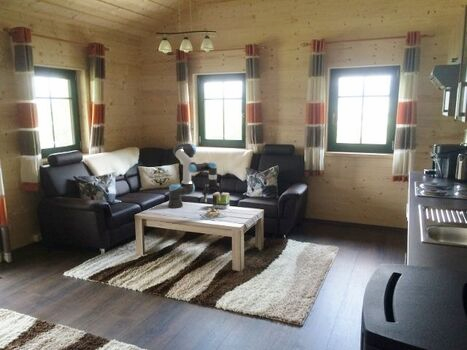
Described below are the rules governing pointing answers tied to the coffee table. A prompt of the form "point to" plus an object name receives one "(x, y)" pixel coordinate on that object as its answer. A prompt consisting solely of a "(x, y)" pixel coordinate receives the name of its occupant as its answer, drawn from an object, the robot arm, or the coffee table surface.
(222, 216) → the post base
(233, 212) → the coffee table surface
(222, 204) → the tea box
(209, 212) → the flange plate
